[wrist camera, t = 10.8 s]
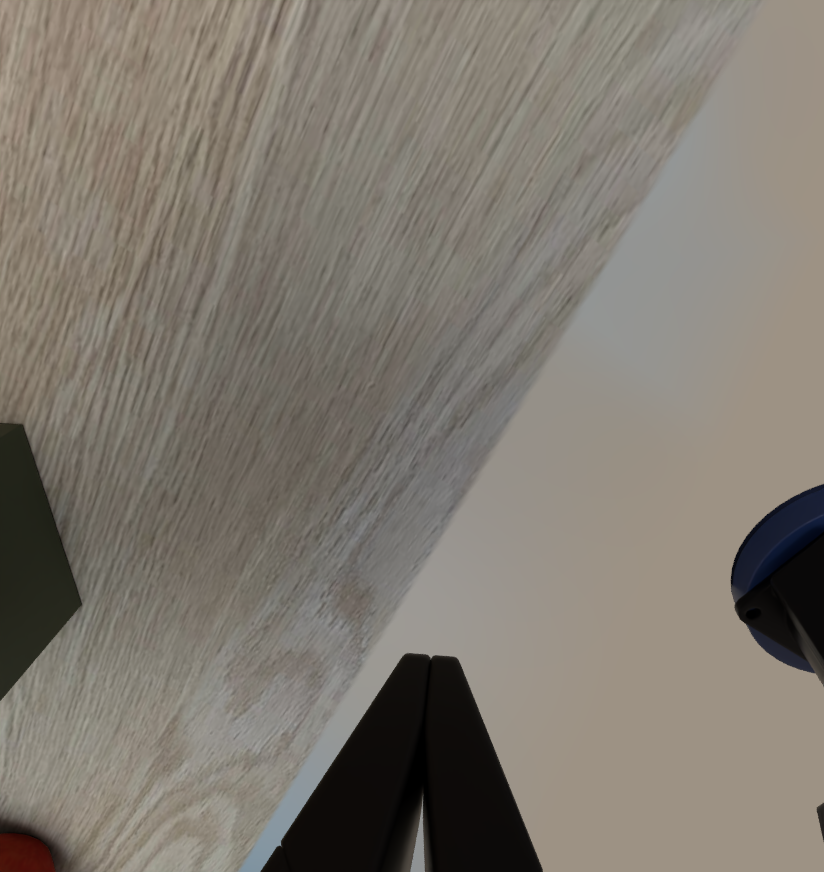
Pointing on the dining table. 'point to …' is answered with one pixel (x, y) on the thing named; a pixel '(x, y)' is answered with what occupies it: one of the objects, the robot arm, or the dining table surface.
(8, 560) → the green buzzer box
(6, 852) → the apple
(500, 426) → the dining table surface
